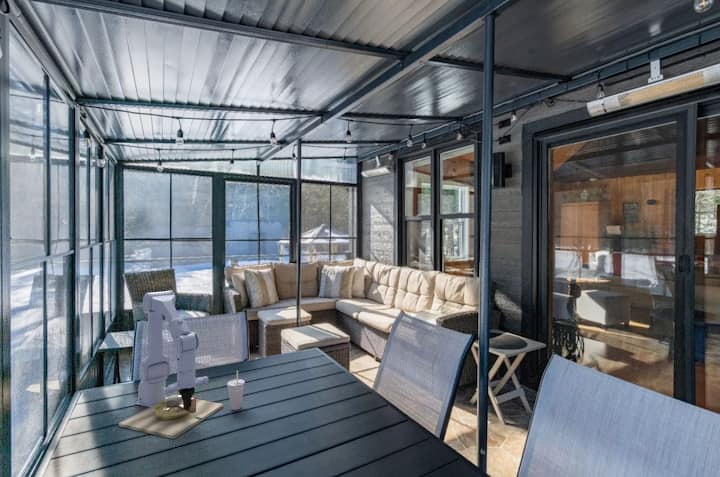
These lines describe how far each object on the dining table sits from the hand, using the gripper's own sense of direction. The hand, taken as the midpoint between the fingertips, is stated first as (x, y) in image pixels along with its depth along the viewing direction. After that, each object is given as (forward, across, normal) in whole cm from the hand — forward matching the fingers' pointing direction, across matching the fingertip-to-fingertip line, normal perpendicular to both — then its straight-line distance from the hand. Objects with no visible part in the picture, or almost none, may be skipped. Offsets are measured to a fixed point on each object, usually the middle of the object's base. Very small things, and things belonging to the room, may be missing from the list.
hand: (186, 409), depth 132 cm
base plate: (+6, 0, +11) cm, 12 cm away
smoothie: (+6, +19, +1) cm, 20 cm away
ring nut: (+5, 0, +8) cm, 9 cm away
